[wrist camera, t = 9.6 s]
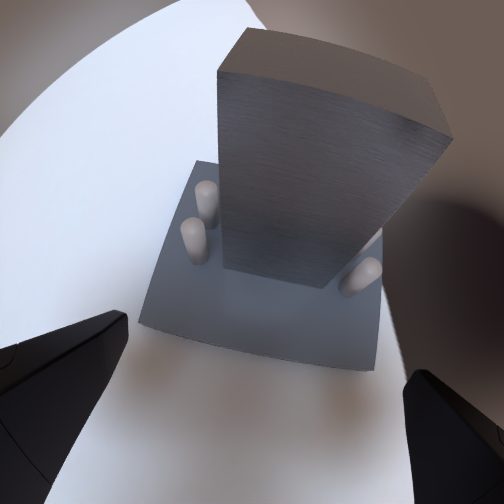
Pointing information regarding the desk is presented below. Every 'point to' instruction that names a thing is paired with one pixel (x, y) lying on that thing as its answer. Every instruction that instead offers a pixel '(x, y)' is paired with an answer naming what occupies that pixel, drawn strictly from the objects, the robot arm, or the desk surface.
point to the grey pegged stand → (259, 294)
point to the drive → (315, 152)
